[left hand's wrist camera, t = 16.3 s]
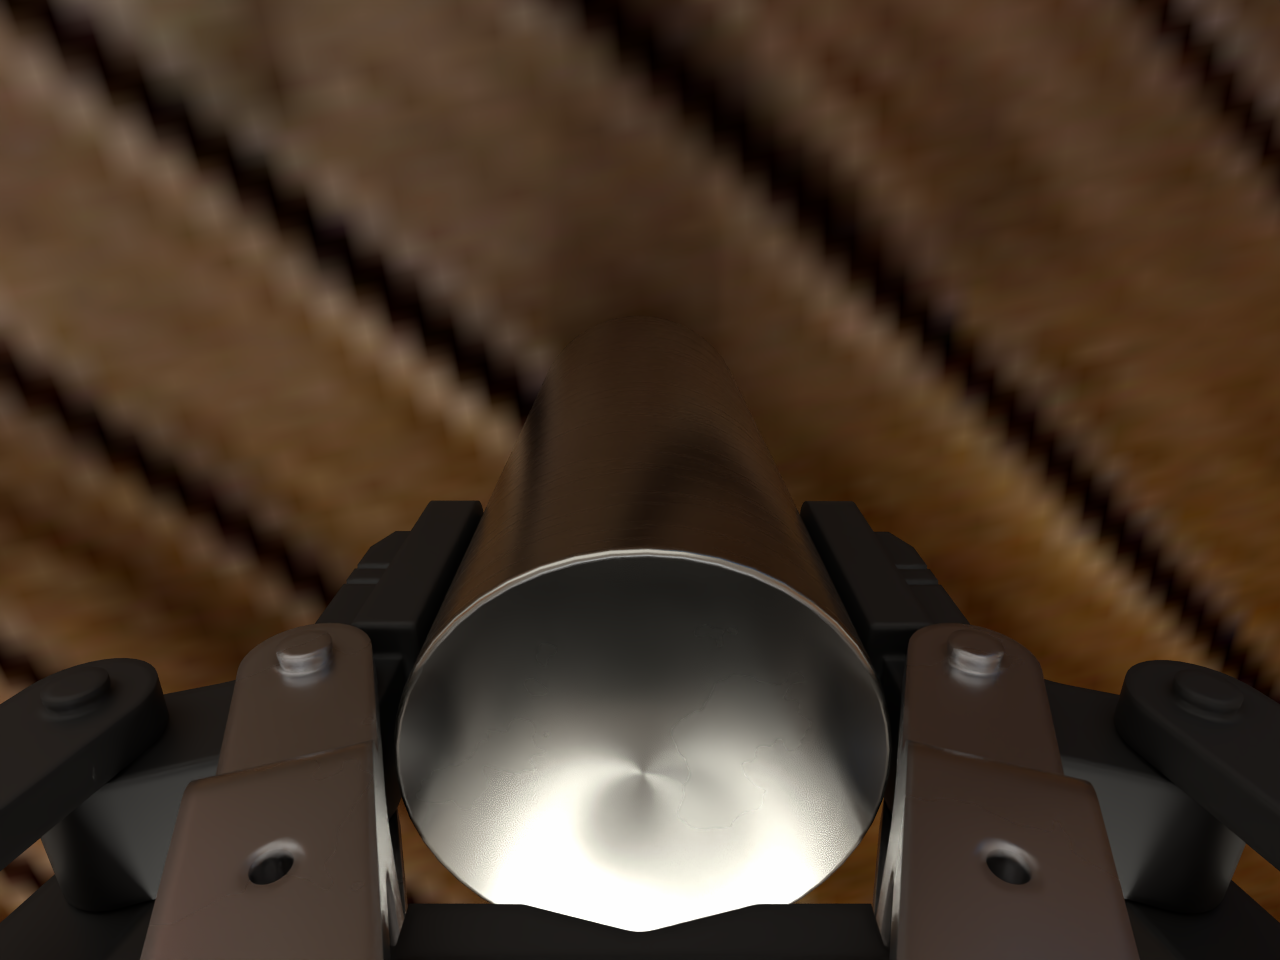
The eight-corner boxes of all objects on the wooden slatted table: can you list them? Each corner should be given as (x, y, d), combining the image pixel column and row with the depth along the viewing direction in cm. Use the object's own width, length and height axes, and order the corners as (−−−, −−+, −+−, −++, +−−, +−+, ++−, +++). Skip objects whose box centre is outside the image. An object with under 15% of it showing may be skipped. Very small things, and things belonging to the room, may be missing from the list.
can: (756, 482, 19) (921, 902, 8) (571, 526, 20) (486, 981, 9) (715, 291, 18) (857, 493, 6) (513, 344, 18) (307, 618, 7)
